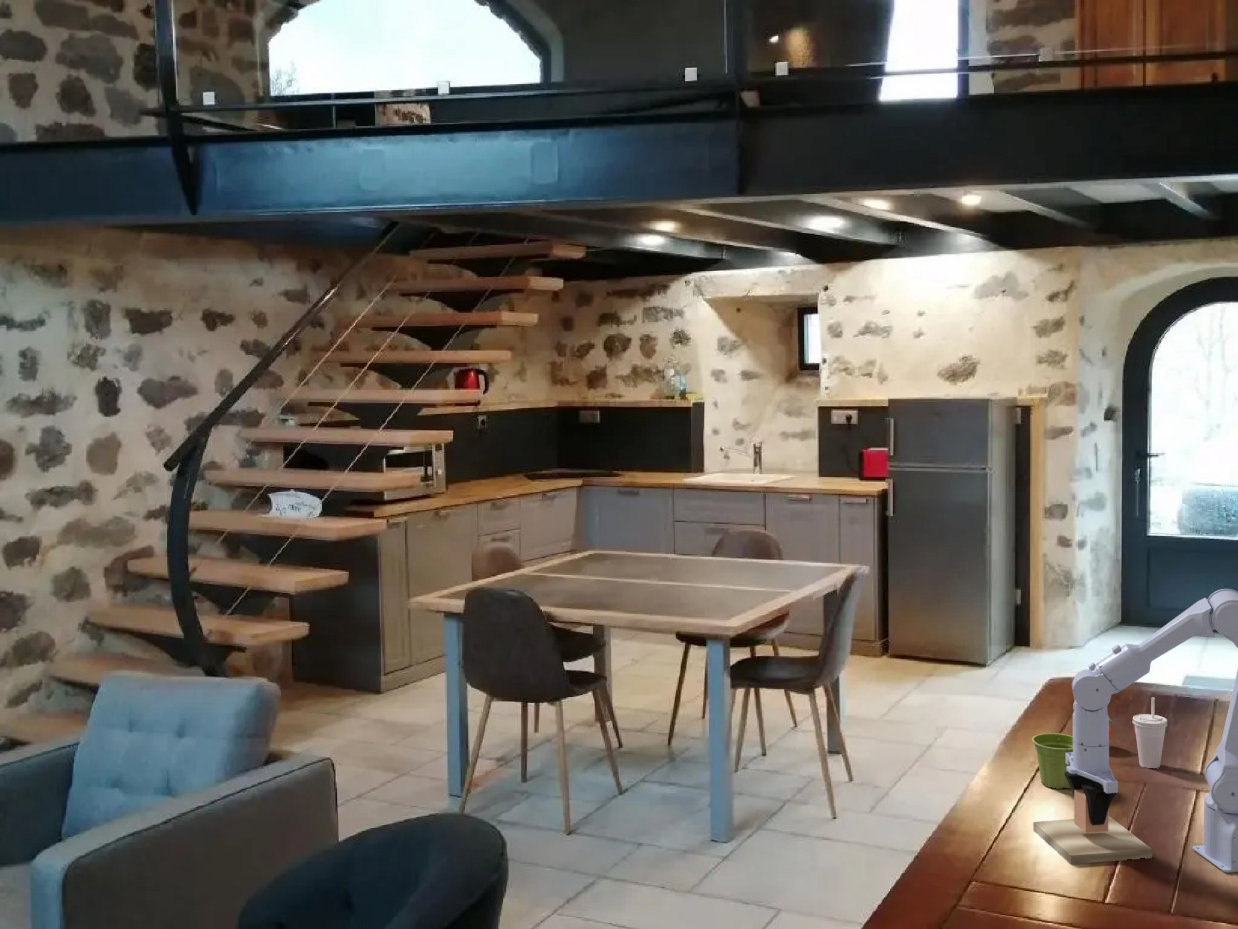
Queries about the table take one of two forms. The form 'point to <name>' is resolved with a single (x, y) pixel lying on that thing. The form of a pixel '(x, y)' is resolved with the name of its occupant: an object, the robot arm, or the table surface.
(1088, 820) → the block
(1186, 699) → the table surface
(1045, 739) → the plant pot
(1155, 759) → the smoothie
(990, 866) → the table surface
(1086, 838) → the board
